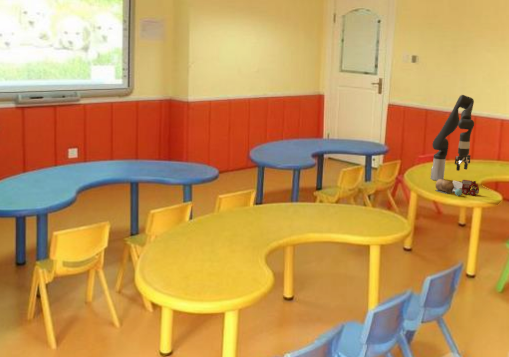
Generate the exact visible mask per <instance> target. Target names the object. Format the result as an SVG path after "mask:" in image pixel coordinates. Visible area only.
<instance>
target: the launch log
mask: <svg viewBox="0 0 509 357" xmlns="http://www.w3.org/2000/svg"><path fill="white" fill-rule="evenodd" d="M435 188H436V189H435V190H441V191H445V192H448V194H451V193H450V192H452V190H453V188H454V184H453V181H449V180H445V179H444V180H442V179H439V180H438V181H436V183H435Z"/></svg>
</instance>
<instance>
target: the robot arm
mask: <svg viewBox="0 0 509 357" xmlns="http://www.w3.org/2000/svg"><path fill="white" fill-rule="evenodd" d="M457 98H458V99H457V101H456V102H455V104H454V107H453V109H452V110H451V112H450V114H449V116H448V117H447V119H446V120H445V122H444V125H443V126H442V128H441V130H440V131H439V133H438V134H437V135H436V137H435V138H433V141H432V148H433V149H434V150H435V151H437V152H436V153H434V154H433V161H432V167H431V170H430V171H431V172H430V179H431V180H432V181H436V182H437V181H438V180H439V179H442V180H445V179H444V178H445V177H444V176H445V169H446V160H447V156H448V151H449V140H448V136H449V135H451V134H452V133H454V132H455V131H456V130H457V127H458V128H459V129H460V130H467V131H464V132H461V133H460V134H459V141H458V148H457V154H458V156H457V155H455V158H454V165H456V171H458V172H459V171H460V170H461V164H462V163H464V164H463V165H464V167H463V169H464V170H468V166H469V164H470V163H471V154H470V147H471V146H470V145H471V143H470V141H471V134H472V131H473V129H474V127H475V121H474V120H473V119H472V111H473V108H474V103H475V101H474V98H472V97H470V96H467V95H464V94H461V95H459V97H457ZM460 108H461V109H463V110H462V111H461V113H460V115H459V109H460Z"/></svg>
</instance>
